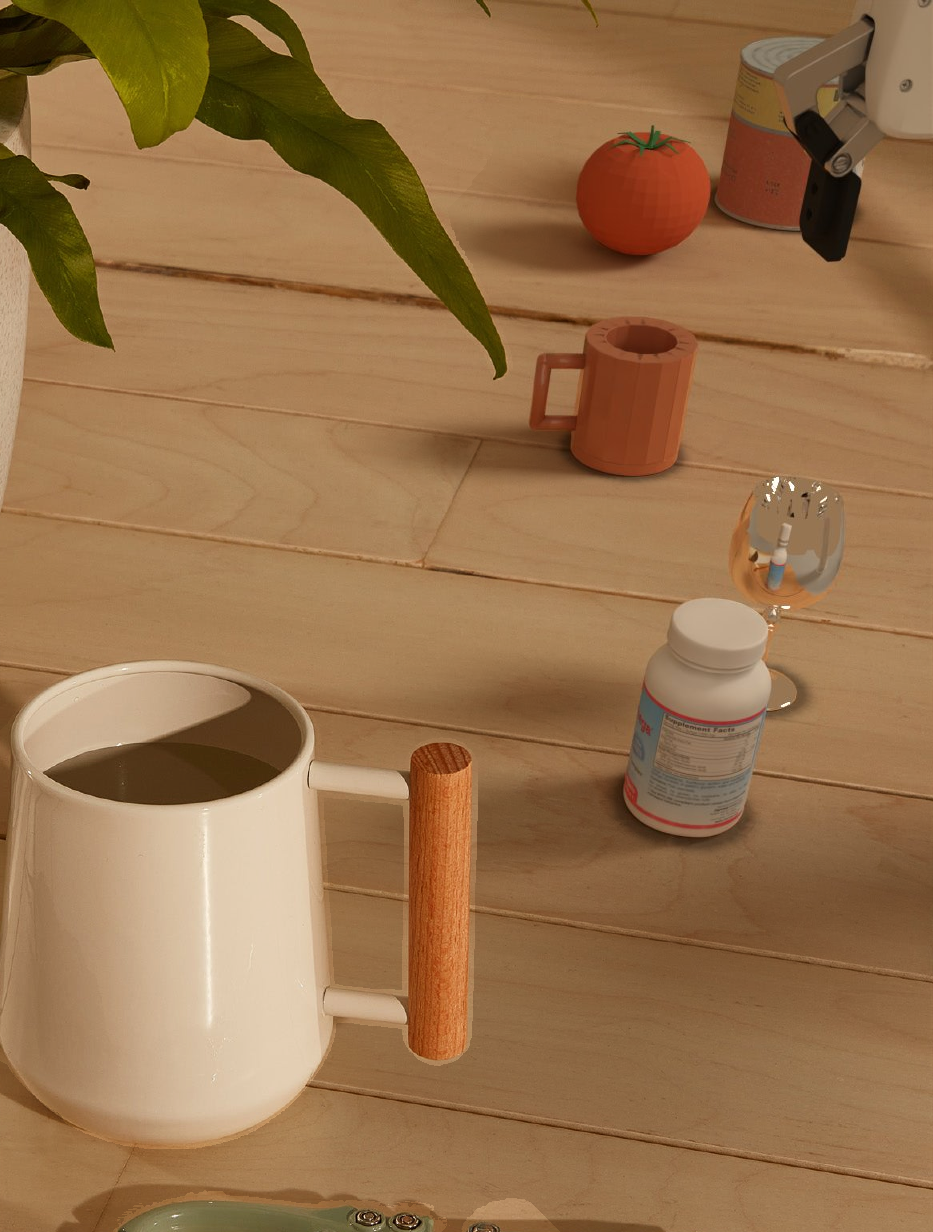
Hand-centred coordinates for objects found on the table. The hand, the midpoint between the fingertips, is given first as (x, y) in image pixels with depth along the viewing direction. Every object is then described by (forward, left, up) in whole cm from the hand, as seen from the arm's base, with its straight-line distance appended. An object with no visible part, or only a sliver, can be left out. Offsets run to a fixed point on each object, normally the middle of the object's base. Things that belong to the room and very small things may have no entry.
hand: (919, 243), depth 95 cm
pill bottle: (+8, +8, -27) cm, 29 cm away
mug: (+6, -31, -27) cm, 42 cm away
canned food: (-15, -75, -27) cm, 81 cm away
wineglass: (+2, -3, -27) cm, 27 cm away
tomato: (-1, -65, -27) cm, 70 cm away
